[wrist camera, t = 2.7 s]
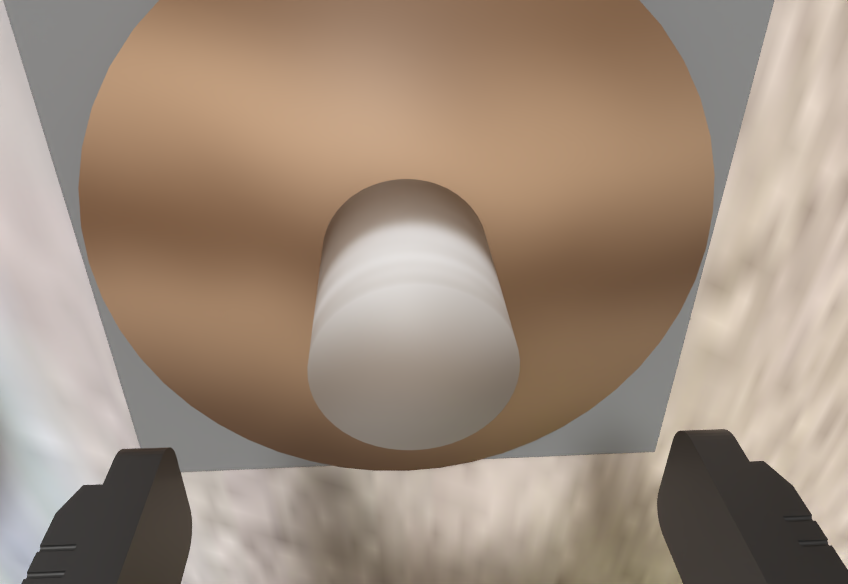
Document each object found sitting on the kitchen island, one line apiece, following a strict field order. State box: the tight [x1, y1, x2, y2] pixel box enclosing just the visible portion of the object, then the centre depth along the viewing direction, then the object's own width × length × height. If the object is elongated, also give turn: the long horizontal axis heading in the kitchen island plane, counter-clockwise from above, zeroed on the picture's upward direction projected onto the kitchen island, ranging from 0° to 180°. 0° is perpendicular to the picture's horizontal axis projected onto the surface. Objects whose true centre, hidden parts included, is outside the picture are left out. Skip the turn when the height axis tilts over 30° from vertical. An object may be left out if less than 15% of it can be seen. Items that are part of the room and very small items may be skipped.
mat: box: [3, 0, 774, 472], centre depth 18 cm, size 16×16×1 cm
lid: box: [78, 0, 715, 470], centre depth 15 cm, size 15×15×5 cm
